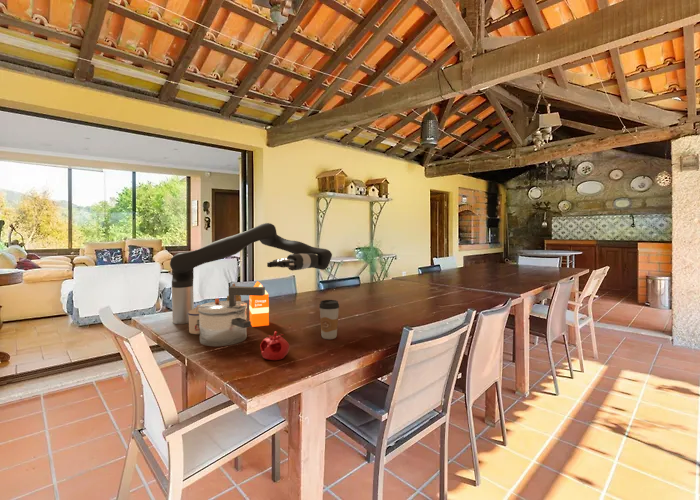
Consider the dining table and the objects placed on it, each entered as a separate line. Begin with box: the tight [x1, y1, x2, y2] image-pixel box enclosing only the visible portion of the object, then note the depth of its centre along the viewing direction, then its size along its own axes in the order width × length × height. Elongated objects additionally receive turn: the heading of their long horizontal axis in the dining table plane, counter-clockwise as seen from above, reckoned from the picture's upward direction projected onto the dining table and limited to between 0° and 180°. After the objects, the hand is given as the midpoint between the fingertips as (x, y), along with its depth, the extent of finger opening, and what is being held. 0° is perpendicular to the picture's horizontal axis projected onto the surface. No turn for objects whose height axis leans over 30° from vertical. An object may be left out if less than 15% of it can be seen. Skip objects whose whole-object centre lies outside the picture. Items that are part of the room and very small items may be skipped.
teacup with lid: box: [188, 304, 201, 335], centre depth 152 cm, size 12×9×12 cm
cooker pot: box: [199, 309, 252, 347], centre depth 139 cm, size 26×18×12 cm
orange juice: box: [248, 280, 270, 328], centre depth 164 cm, size 8×9×20 cm
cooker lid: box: [198, 285, 266, 315], centre depth 140 cm, size 26×19×9 cm
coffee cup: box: [318, 299, 340, 340], centre depth 144 cm, size 8×8×15 cm
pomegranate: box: [259, 330, 290, 361], centre depth 122 cm, size 10×10×9 cm
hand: (268, 264), depth 148 cm, fingers closed
